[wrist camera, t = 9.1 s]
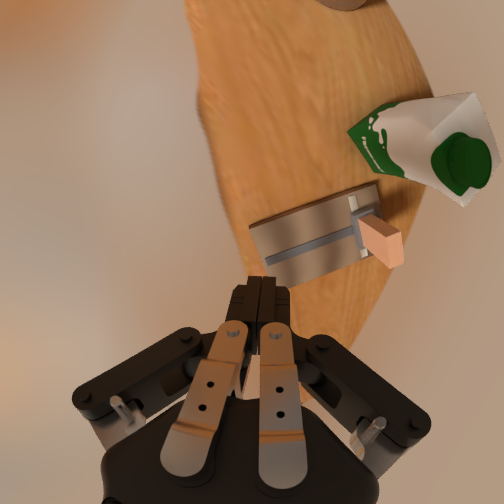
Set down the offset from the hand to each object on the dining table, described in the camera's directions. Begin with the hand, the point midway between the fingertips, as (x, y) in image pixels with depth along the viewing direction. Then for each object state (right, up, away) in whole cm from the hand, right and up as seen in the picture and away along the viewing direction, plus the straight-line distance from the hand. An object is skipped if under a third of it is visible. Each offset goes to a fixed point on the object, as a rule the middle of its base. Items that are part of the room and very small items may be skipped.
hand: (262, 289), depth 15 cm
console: (+9, +4, +22) cm, 24 cm away
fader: (+14, +5, +20) cm, 25 cm away
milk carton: (+17, +18, +18) cm, 30 cm away
